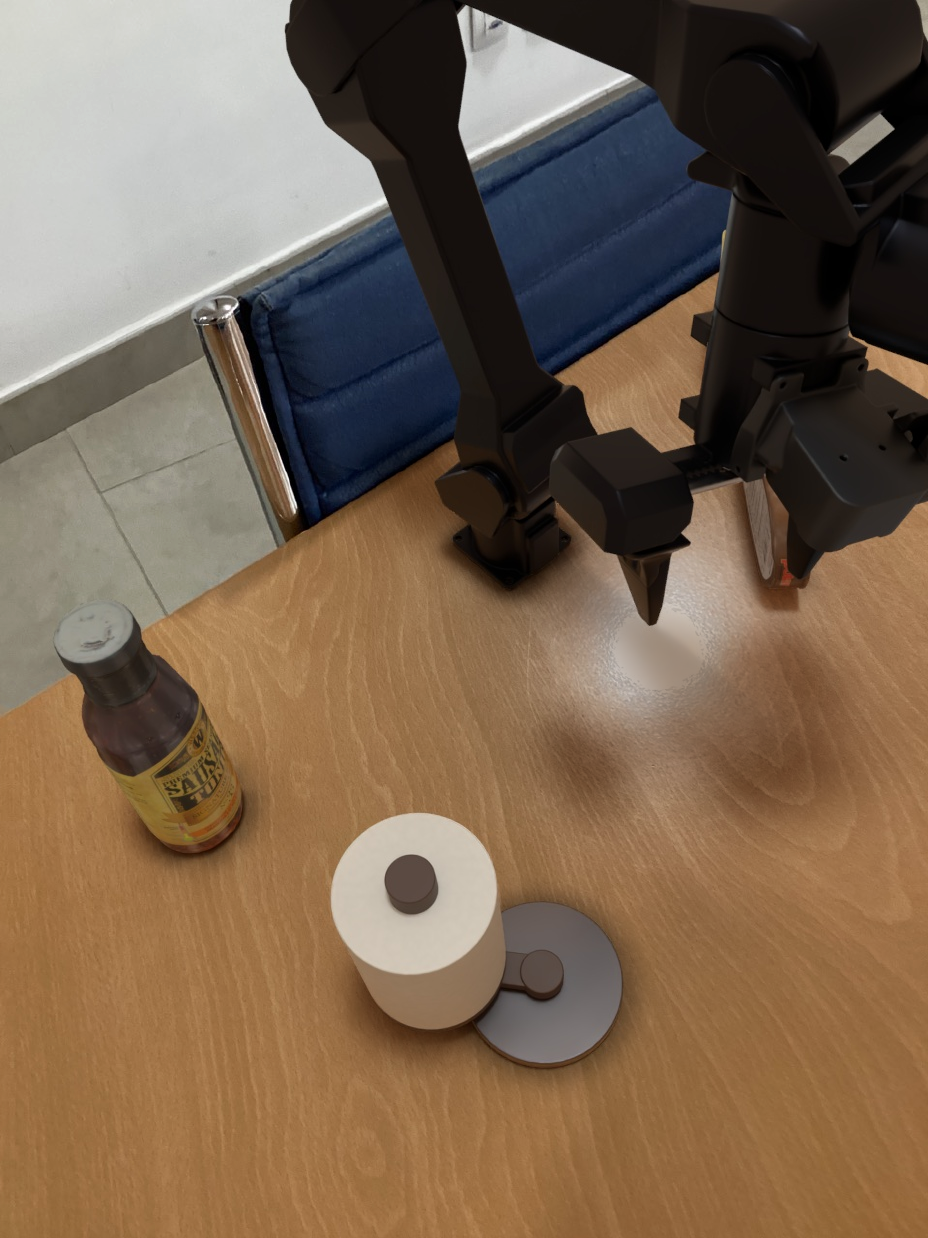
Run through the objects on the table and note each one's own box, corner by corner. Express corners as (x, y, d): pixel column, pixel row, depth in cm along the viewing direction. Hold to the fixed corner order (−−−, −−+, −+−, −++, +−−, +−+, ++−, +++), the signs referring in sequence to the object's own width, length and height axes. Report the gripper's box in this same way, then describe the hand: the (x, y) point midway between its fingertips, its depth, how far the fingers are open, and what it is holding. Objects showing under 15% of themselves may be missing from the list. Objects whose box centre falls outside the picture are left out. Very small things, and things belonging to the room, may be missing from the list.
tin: (802, 612, 73) (828, 535, 66) (756, 614, 73) (776, 537, 66) (769, 453, 82) (789, 369, 75) (728, 454, 82) (743, 372, 75)
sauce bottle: (222, 869, 65) (111, 709, 49) (134, 842, 67) (-2, 677, 51) (266, 777, 69) (175, 598, 53) (181, 753, 70) (68, 572, 54)
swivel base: (431, 979, 61) (429, 974, 60) (544, 876, 64) (544, 870, 63) (539, 1105, 57) (539, 1101, 56) (656, 989, 60) (657, 984, 59)
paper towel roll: (338, 959, 60) (290, 874, 50) (457, 856, 63) (436, 755, 53) (449, 1096, 56) (424, 1035, 45) (572, 978, 59) (575, 895, 48)
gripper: (707, 443, 36) (653, 758, 46) (1101, 345, 42) (977, 642, 52) (553, 317, 44) (535, 610, 54) (903, 249, 50) (828, 524, 60)
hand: (723, 597), depth 55 cm, fingers open, 9 cm apart
